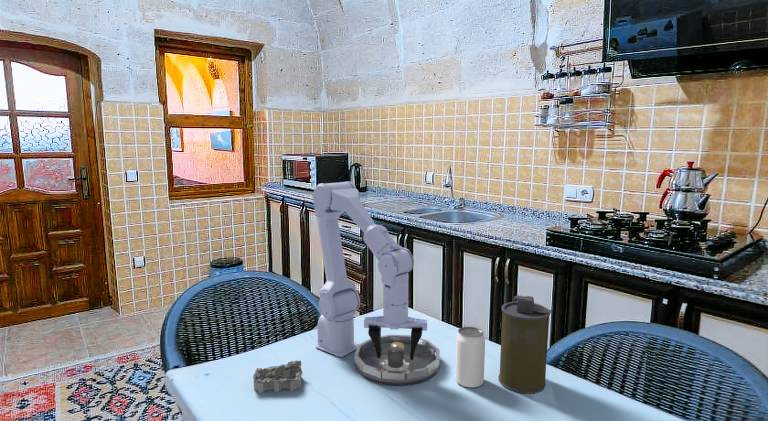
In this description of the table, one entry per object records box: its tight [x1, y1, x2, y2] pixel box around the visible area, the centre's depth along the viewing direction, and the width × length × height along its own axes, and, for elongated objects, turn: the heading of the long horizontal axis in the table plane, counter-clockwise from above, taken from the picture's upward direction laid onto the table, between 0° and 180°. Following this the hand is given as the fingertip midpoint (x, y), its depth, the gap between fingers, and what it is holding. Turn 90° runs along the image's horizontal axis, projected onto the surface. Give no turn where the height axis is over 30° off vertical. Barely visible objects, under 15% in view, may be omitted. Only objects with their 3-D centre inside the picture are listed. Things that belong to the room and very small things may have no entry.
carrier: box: [353, 334, 441, 387], centre depth 113 cm, size 21×21×5 cm
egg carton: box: [252, 360, 303, 394], centre depth 104 cm, size 11×8×4 cm
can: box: [454, 326, 486, 389], centre depth 104 cm, size 6×6×12 cm
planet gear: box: [382, 347, 409, 372], centre depth 108 cm, size 6×6×4 cm
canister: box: [498, 295, 553, 395], centre depth 104 cm, size 11×10×20 cm
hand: (395, 357), depth 108 cm, fingers open, 7 cm apart
